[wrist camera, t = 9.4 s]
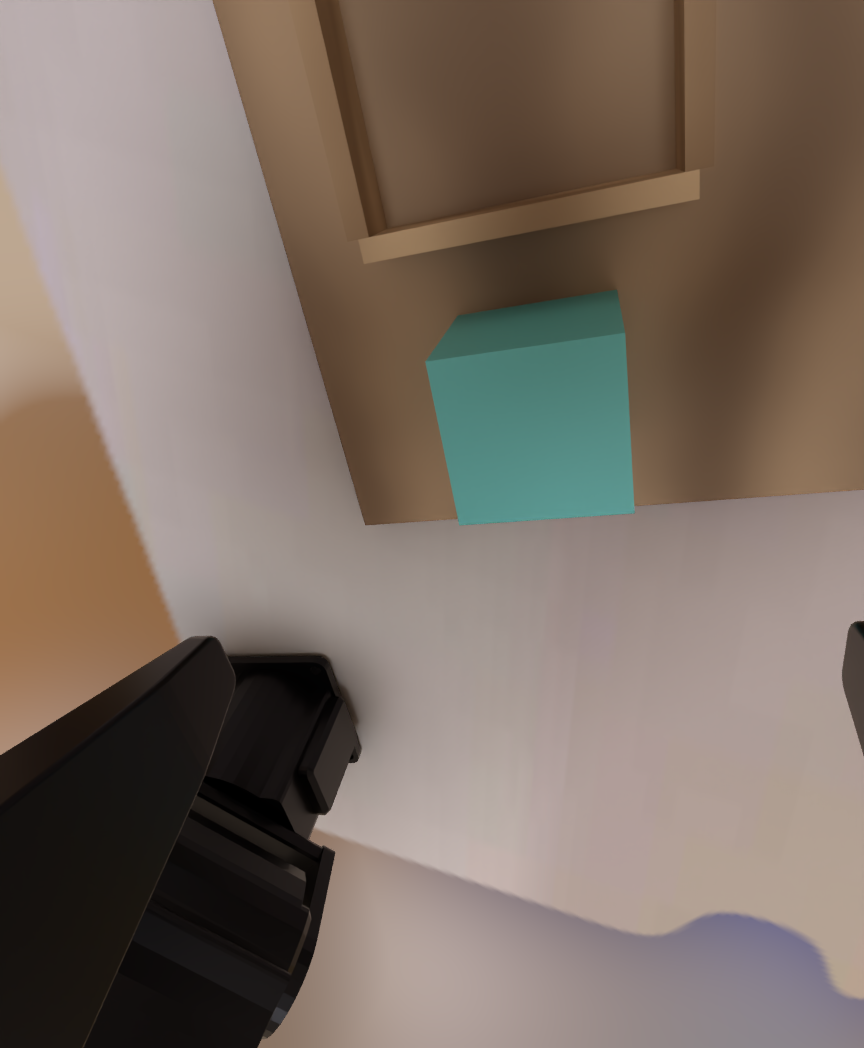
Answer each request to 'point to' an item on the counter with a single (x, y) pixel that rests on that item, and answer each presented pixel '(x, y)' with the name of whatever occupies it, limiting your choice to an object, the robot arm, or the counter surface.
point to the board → (576, 217)
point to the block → (536, 411)
